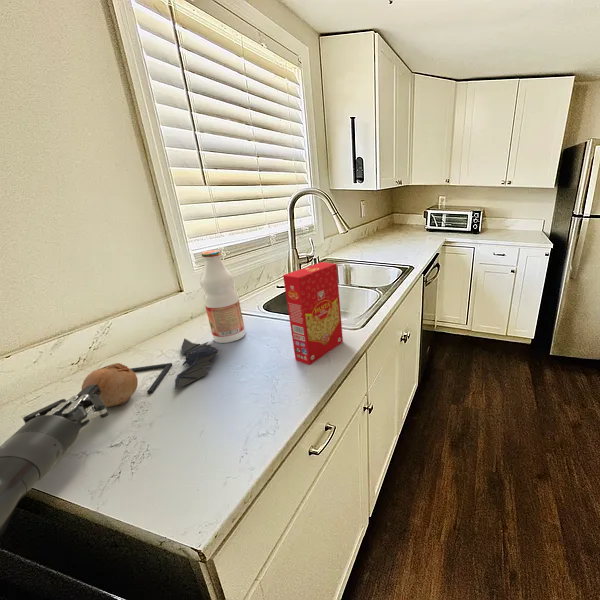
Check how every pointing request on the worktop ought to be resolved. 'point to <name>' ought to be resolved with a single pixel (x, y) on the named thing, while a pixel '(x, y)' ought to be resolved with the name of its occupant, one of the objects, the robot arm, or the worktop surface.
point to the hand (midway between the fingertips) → (94, 388)
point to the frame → (159, 378)
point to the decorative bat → (195, 362)
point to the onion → (113, 383)
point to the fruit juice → (221, 299)
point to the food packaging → (314, 311)
